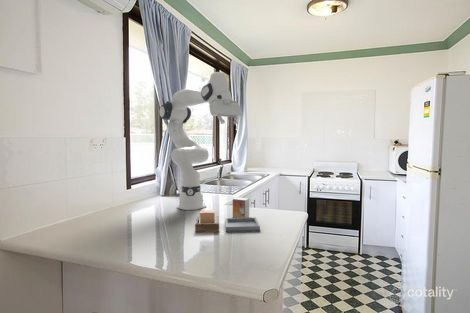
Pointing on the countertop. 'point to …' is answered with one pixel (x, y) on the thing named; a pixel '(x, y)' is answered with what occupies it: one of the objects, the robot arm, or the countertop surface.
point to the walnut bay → (206, 226)
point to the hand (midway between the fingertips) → (229, 123)
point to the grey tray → (241, 224)
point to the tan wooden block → (207, 216)
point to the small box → (241, 207)
